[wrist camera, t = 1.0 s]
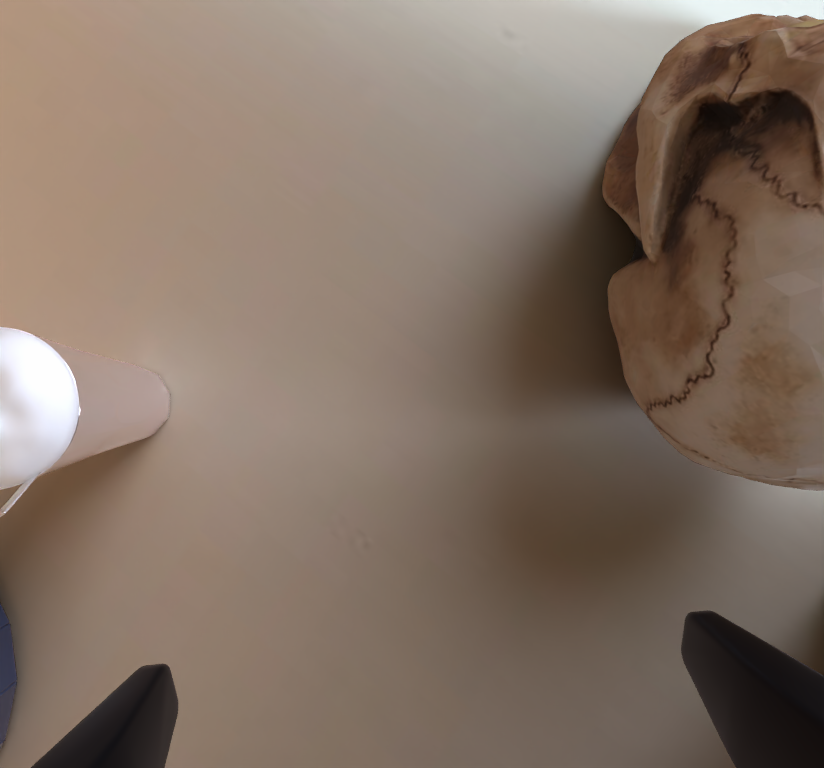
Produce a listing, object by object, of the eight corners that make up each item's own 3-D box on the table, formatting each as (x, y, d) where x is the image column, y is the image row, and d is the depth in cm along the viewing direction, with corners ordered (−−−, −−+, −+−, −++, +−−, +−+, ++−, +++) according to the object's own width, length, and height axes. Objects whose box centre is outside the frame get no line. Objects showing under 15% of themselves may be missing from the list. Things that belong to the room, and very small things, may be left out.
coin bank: (760, 10, 24) (1247, -402, 10) (896, 337, 26) (1448, 338, 12) (467, 169, 24) (586, -48, 10) (627, 487, 26) (899, 650, 12)
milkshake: (125, 490, 22) (-90, 569, 12) (60, 385, 22) (-209, 378, 12) (216, 435, 22) (80, 469, 12) (152, 331, 22) (-37, 280, 12)
